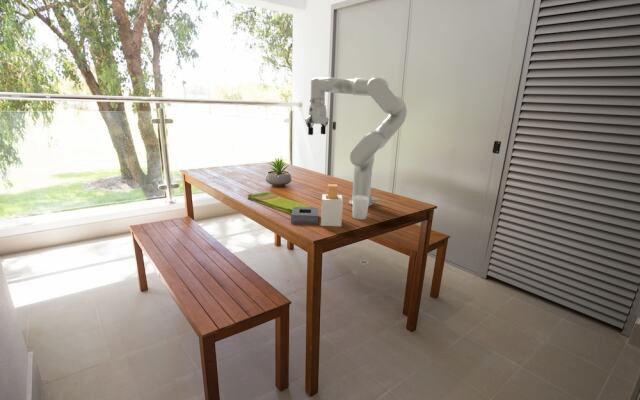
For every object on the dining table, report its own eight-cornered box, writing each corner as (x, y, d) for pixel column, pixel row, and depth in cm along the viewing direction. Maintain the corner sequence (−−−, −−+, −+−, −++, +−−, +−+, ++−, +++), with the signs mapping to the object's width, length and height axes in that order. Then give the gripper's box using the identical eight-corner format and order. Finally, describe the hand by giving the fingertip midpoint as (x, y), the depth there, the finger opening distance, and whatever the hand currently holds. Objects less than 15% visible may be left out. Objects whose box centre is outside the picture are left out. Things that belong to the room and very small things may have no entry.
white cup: (366, 214, 162) (367, 195, 159) (369, 220, 154) (370, 200, 151) (350, 214, 161) (351, 195, 159) (352, 219, 154) (353, 199, 151)
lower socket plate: (318, 215, 158) (318, 207, 157) (317, 224, 146) (318, 215, 145) (293, 214, 158) (293, 206, 157) (290, 223, 146) (291, 214, 145)
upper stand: (340, 219, 154) (341, 195, 150) (341, 226, 145) (342, 200, 142) (321, 218, 154) (322, 194, 150) (321, 225, 145) (322, 199, 142)
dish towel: (268, 195, 192) (268, 189, 191) (312, 209, 169) (312, 203, 168) (246, 199, 181) (246, 194, 180) (290, 215, 158) (290, 209, 157)
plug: (336, 203, 149) (337, 184, 146) (336, 206, 145) (337, 186, 142) (327, 203, 149) (328, 184, 146) (327, 205, 145) (328, 186, 142)
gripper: (310, 101, 168) (310, 135, 172) (333, 102, 179) (332, 134, 184) (301, 101, 173) (300, 134, 177) (323, 102, 185) (322, 133, 189)
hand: (316, 134), depth 181 cm, fingers open, 9 cm apart
